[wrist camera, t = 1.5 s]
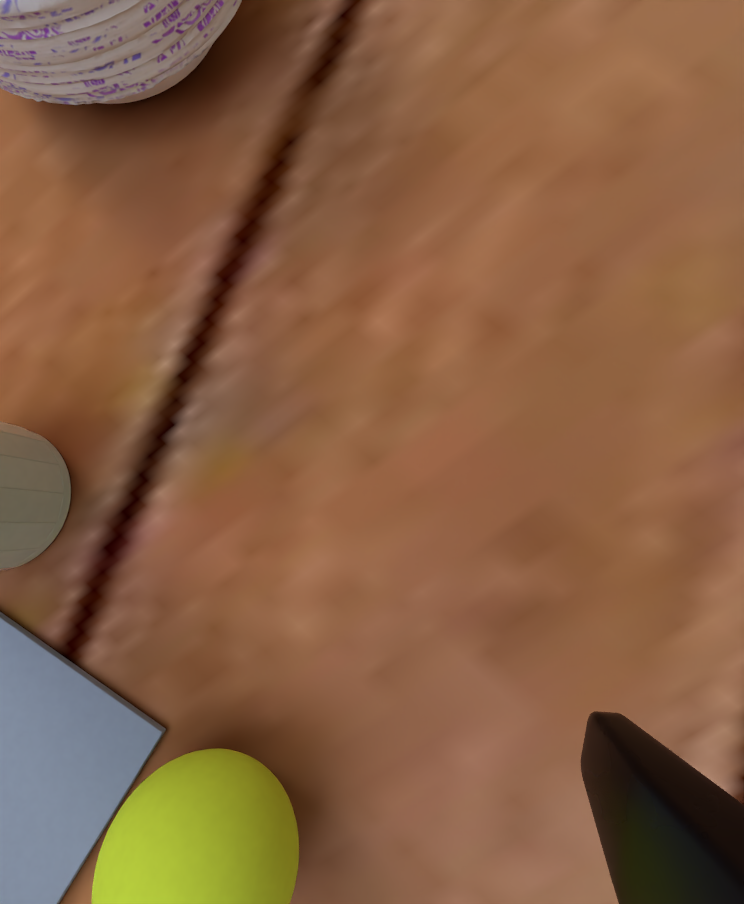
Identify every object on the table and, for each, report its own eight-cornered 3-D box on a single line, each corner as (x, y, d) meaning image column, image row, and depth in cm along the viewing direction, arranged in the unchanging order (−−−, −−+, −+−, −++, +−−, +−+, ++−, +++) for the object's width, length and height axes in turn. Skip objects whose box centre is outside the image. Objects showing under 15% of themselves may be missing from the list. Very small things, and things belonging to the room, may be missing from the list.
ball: (256, 933, 20) (186, 1131, 13) (122, 833, 21) (-5, 975, 14) (344, 780, 21) (318, 898, 14) (210, 688, 21) (128, 760, 15)
